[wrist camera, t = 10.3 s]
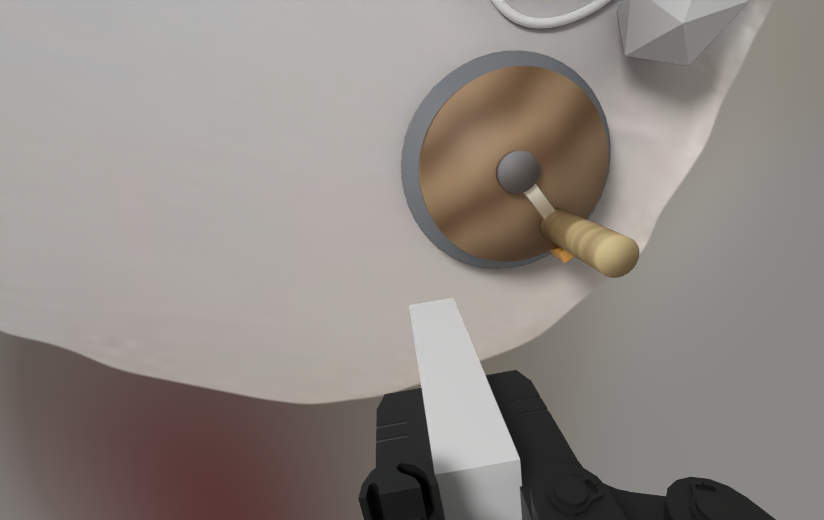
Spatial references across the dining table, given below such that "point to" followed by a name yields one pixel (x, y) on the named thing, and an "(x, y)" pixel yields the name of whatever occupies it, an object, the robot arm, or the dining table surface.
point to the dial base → (426, 116)
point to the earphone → (547, 22)
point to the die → (673, 27)
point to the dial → (521, 170)
